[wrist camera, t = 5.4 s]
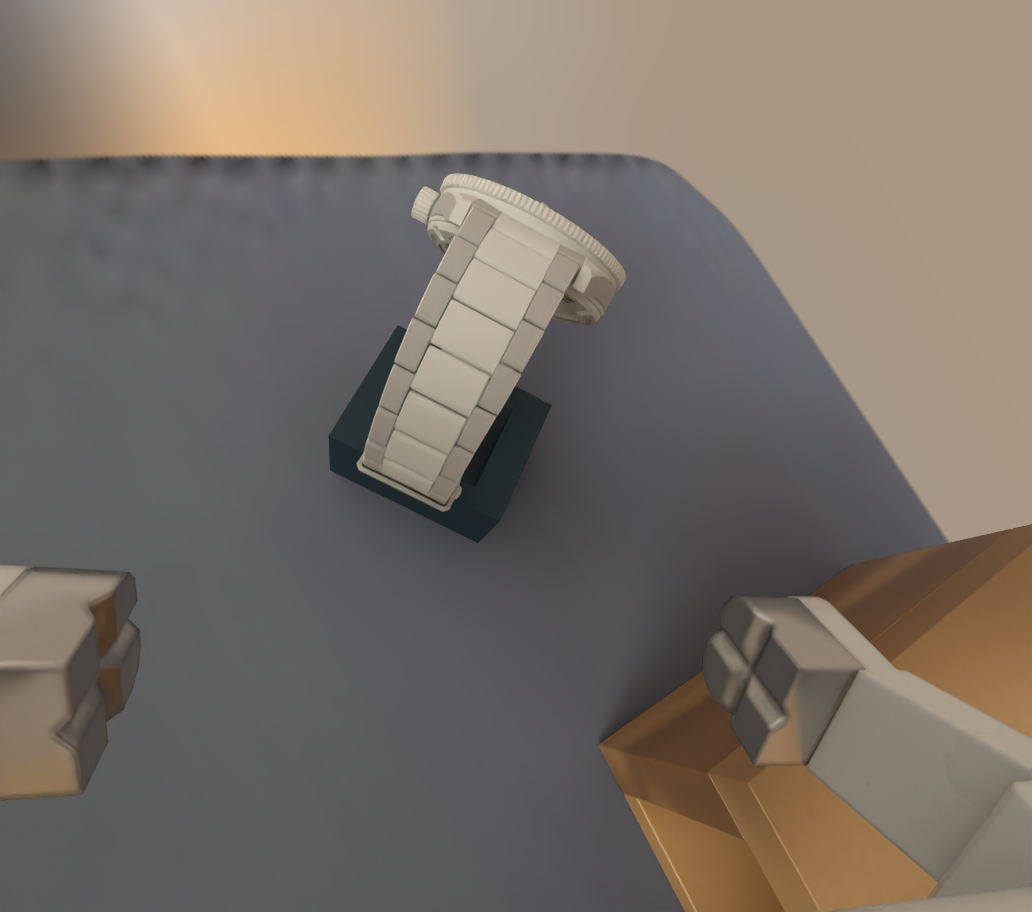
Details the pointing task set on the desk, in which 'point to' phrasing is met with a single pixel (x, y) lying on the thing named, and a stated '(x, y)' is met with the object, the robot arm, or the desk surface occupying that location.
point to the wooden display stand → (793, 789)
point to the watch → (471, 355)
